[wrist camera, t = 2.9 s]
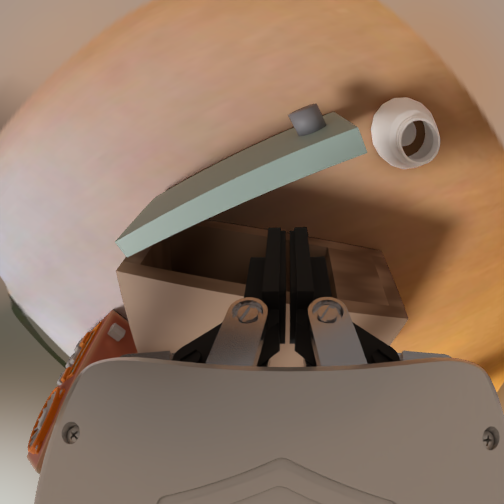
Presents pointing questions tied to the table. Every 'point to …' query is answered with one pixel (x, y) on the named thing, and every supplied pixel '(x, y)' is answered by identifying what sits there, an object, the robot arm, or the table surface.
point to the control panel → (86, 352)
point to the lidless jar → (404, 132)
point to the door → (247, 176)
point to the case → (242, 286)
